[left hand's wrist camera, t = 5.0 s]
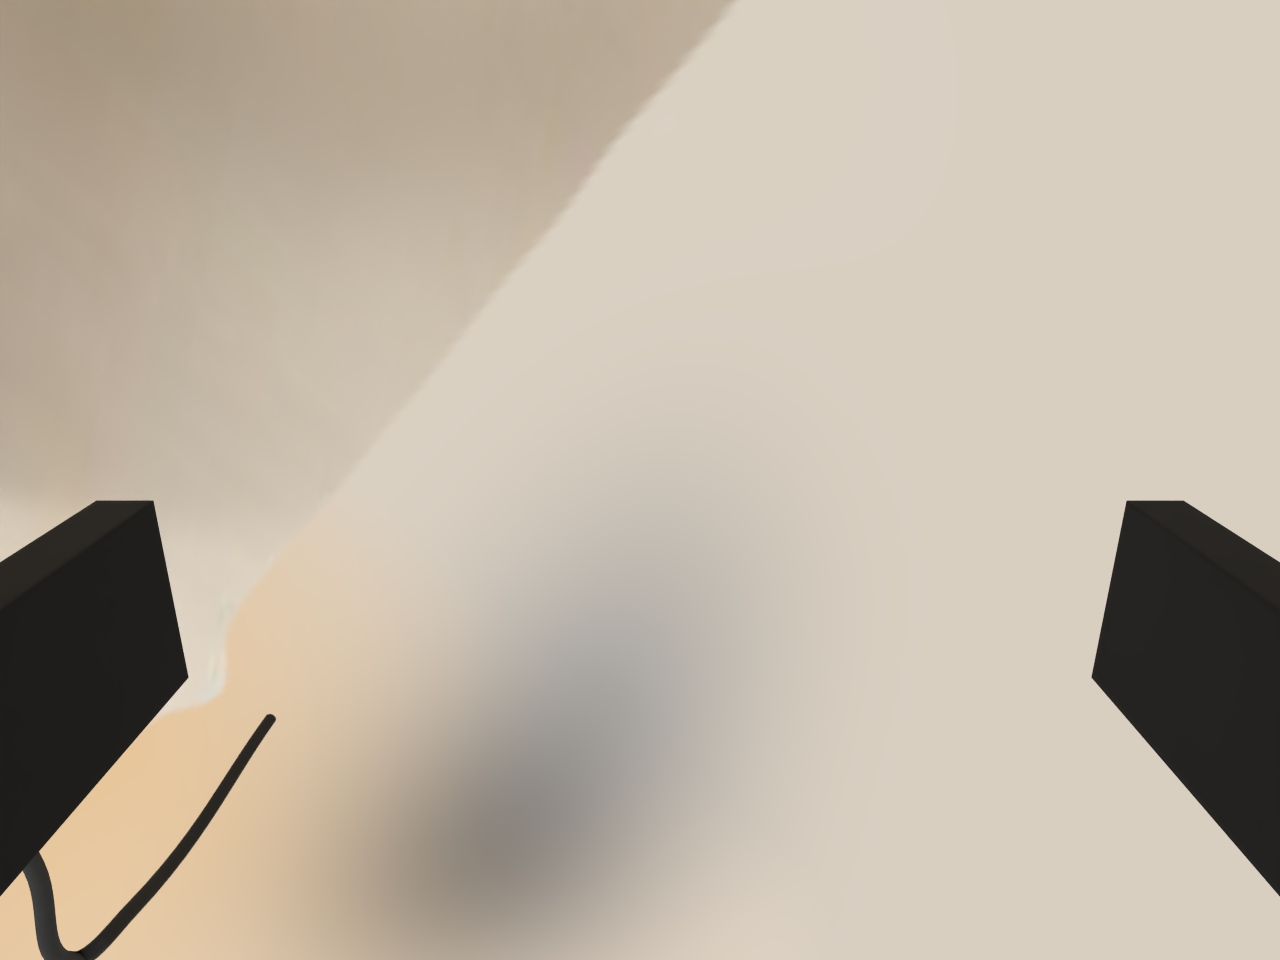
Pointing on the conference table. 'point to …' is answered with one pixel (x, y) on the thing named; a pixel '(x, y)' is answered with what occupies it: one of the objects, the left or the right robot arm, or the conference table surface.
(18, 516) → the conference table surface
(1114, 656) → the left robot arm
